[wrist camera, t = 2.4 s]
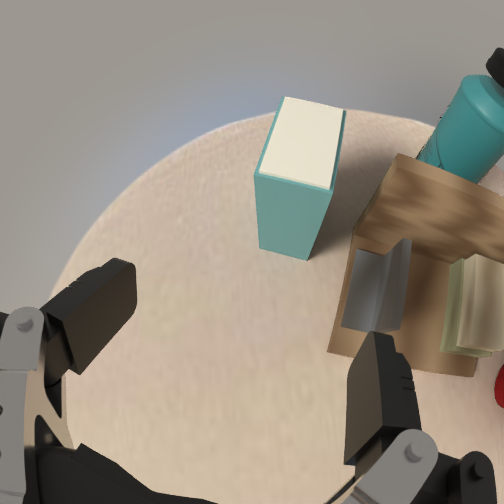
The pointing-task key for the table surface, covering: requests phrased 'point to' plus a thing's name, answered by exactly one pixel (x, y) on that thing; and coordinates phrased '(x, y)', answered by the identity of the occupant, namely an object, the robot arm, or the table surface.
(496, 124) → the beverage bottle
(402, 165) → the shelf
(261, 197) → the teal book
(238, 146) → the table surface
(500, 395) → the plastic cup
